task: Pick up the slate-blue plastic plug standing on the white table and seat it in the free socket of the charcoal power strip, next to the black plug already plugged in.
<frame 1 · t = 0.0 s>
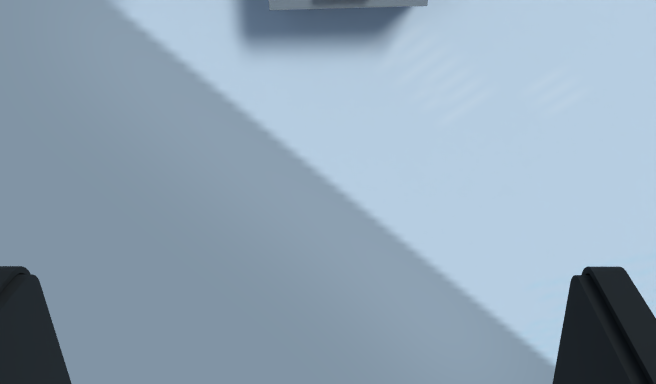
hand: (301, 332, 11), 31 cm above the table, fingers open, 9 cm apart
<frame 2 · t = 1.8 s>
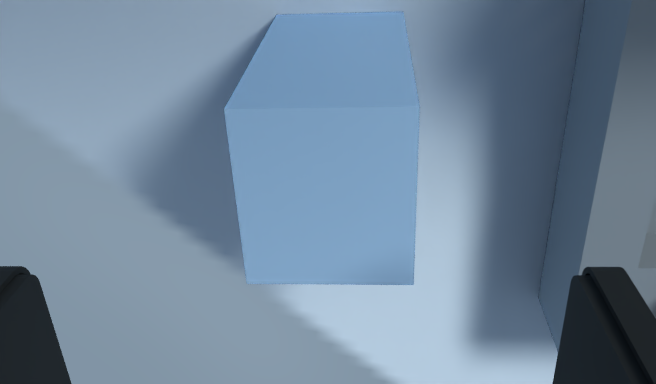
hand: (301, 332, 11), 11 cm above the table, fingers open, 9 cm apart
plug: (341, 81, 21), on the table
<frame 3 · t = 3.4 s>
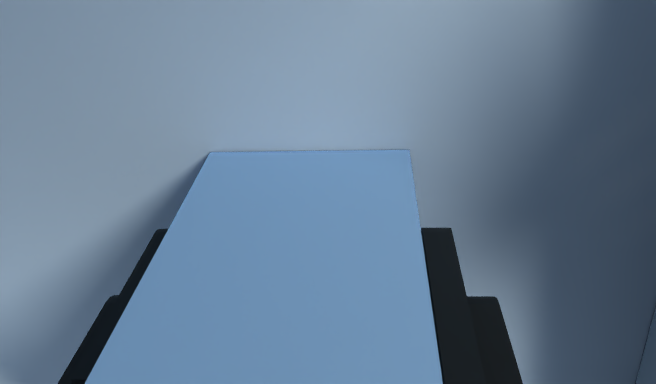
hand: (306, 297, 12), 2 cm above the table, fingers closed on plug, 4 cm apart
plug: (314, 245, 13), on the table, touching gripper
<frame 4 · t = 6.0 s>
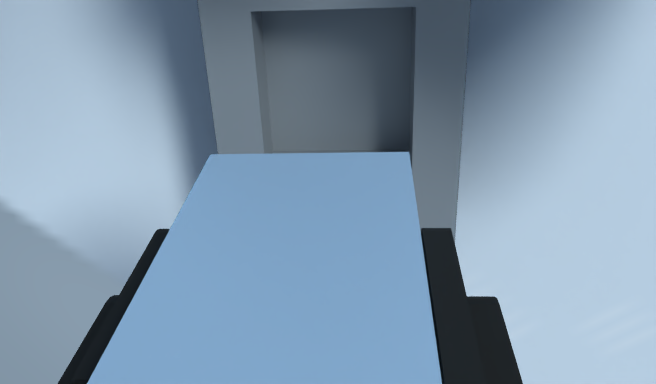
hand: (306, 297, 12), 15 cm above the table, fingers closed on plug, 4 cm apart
plug: (314, 247, 14), point 13 cm above the table, touching gripper
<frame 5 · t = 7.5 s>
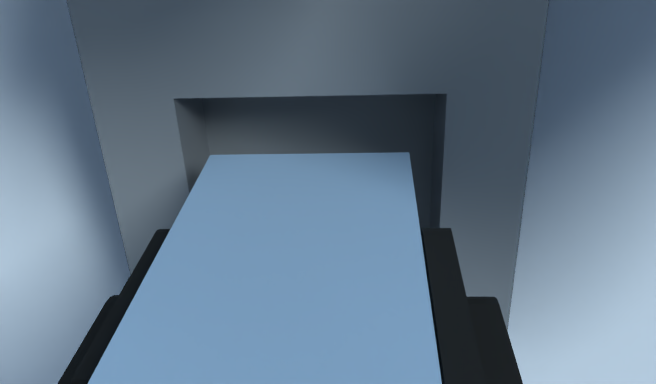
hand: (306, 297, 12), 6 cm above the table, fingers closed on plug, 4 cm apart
plug: (314, 248, 14), point 4 cm above the table, touching gripper
when the fingers open (4 cm above the table, at t = 8.9 s): plug stays where it is, resting on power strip.
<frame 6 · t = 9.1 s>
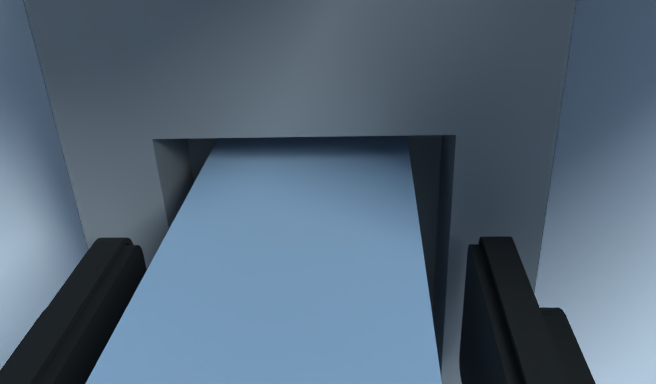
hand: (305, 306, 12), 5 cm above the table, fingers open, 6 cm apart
plug: (318, 222, 14), point 1 cm above the table, touching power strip
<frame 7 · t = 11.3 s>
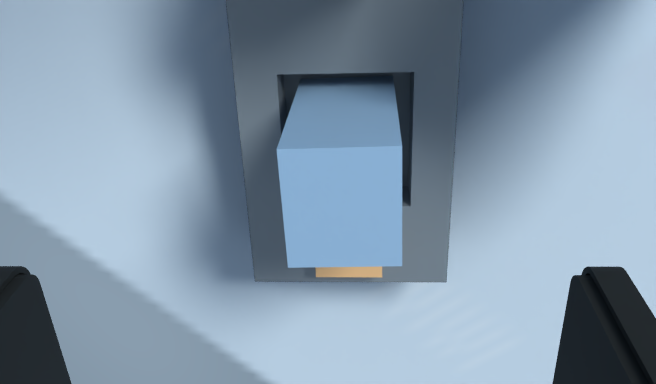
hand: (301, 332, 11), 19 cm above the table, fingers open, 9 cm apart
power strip: (346, 6, 27), on the table
plug: (348, 126, 28), point 1 cm above the table, touching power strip
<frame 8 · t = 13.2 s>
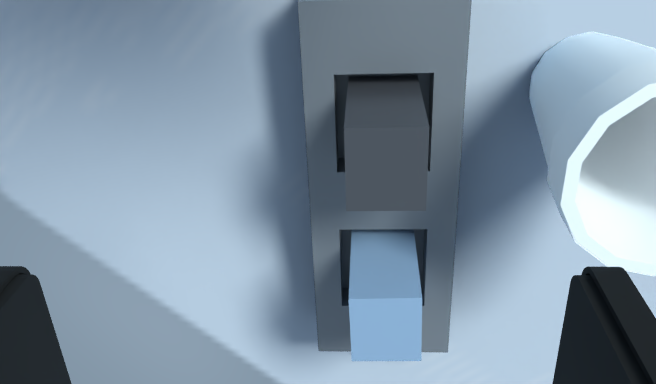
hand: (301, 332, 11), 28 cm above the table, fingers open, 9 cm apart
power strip: (382, 175, 41), on the table
foam cup: (581, 83, 38), on the table
plug: (382, 251, 42), point 1 cm above the table, touching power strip
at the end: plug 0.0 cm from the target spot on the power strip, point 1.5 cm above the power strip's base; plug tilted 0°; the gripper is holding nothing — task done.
